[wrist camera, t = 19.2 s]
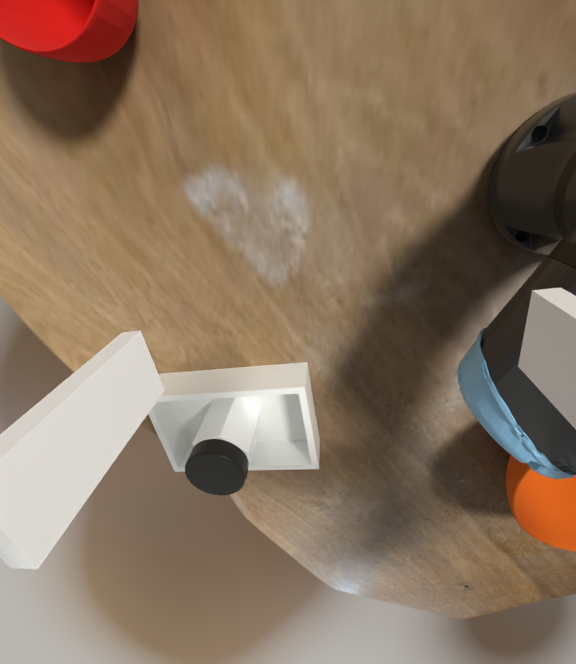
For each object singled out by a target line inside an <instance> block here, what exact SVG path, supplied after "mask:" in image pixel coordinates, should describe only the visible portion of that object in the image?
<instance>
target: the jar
mask: <svg viewBox="0 0 576 664" xmlns="http://www.w3.org/2000/svg"><path fill="white" fill-rule="evenodd" d="M260 416H261V406H259V405H258V404H256V403H254V402H253V401H251V400H249V399H248V398H246V397H234V398H217V399H214V400H213V401H212V403H211V405H210V407H209V409H208V412H207V414H206V416H205V418H204V420H203V422H202V424H201V426H200V428H199V430H198V432H197V434H196V436H195V439H194V441H193V443H192V448H193V449H192V451H191V453H190V456H189V458H188V460H187V462H186V464H185V473H186V476H187V478H188V479H189V481H190V482H191V483H192V484H193V485H194V486H195V487H197V488H198V489H200V490H202V491H204V492H207V493H210V494H214V495H229V494H233V493H235V492H237V491H239V490H240V489H241V488H242V487H243V485H244V482H245V479H246V477H247V474H248V471H249V467H250V463H251V459H252V455H253V451H254V447H255V444H256V440H257V436H258V432H259V428H260Z"/></svg>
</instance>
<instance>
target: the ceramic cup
mask: <svg viewBox="0 0 576 664" xmlns="http://www.w3.org/2000/svg"><path fill="white" fill-rule="evenodd" d="M137 13H138V0H0V38H1V39H3V40H4V41H6V42H8V43H10V44H12V45H13V46H15V47H17V48H19V49H21V50H24V51H26V52H30V53H33V54H37V55H40V56H44V57H48V58H52V59H56V60H61V61H66V62H95V61H99V60H102V59H106V58H108V57H110V56H111V55H113V54H115V53H116V52H118V51H119V50H120V49H121V48H122V47H123V46H124V44H125V43H126V42H127V40H128V39H129V37H130V35H131V33H132V31H133V28H134V25H135V23H136V19H137Z"/></svg>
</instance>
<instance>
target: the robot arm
mask: <svg viewBox="0 0 576 664" xmlns="http://www.w3.org/2000/svg"><path fill="white" fill-rule="evenodd" d="M488 207H489V213H490V216H491V219H492V221H493V224H494V226H495V227H496V229H497V230H498V232H499V233H500V234H501V235H502V236H503V237H504V238H505V239H506V240H508V241H509V242H511V243H512V244H514V245H516V246H518V247H521V248H523V249H525V250H527V251H530V252H534V253H538V254H544V255H548V257H546V258H545V259H544V260H543V262H542V263H541V264H540V265H539V266H538V267H537V269H536V270H535V271H534V272H533V273H532V275H531V276H530V277H529V278H528V279H527V281H526V282H525V283H524V284H523V285H522V287H521V288H520V289H519V290H518V291H517V292H516V294H515V295H514V296H513V297H512V298H511V300H510V301H509V302H508V303H507V304H506V306H505V307H504V308H503V309H502V310H501V312H500V313H499V314H498V315H497V316H496V317H495V319H494V320H493V321H492V322H491V323H490V324H489V326H488V327H487V328H484V329H483V330H481V332H480V333H479V334H478V336H477V340H476V341H475V343H474V344H473V346H472V347H471V348H470V350H469V351H468V352H467V354H466V355H465V356H464V358H463V359H462V360H461V362H460V364H459V367H458V372H457V377H458V383H459V385H460V391H461V394H462V396H463V398H464V400H465V402H466V404H467V405H468V407H469V409H470V410H471V412H472V413H473V415H474V416H475V418H476V419H477V420H478V421H479V423H480V424H481V425H482V426H483V428H484V429H485V430H486V431H487V432H488V433H489V435H490V436H491V437H492V438H493V439H494V440H495V441H496V442H497V443H498V444H499V445H500V446H501V447H502V448H503V449H505V450H506V451H507V452H508V453H509V454H510V455H512V456H513V457H514V458H515V459H517V460H518V461H519V462H521V463H527V464H528V465H529V467H530V468H531V469H532V470H533V471H535V472H537V473H538V474H540V475H543V476H545V477H548V478H552V479H563V478H573V477H574V476H576V93H573V94H570V95H568V96H565V97H563V98H560V99H558V100H556V101H554V102H552V103H551V104H549V105H547V106H546V107H544V108H543V109H541V110H540V111H538V112H537V113H536V114H534V115H533V116H532V117H531V118H530V119H528V120H527V121H526V122H525V123H524V124H523V125H522V126H521V127H520V128H519V129H518V130H517V131H516V132H515V134H514V135H513V136H512V137H511V139H510V140H509V141H508V143H507V144H506V146H505V147H504V149H503V150H502V152H501V154H500V156H499V157H498V159H497V162H496V164H495V166H494V169H493V172H492V175H491V178H490V183H489V188H488ZM164 391H165V389H164V387H163V384H162V382H161V380H160V377H159V375H158V372H157V370H156V367H155V365H154V363H153V360H152V358H151V355H150V353H149V350H148V348H147V346H146V343H145V341H144V338H143V336H142V333H141V331H133V332H123V333H121V334H120V335H119V336H117V337H116V338H115V339H114V340H113V341H111V342H110V343H109V344H108V345H107V346H105V347H104V348H103V349H102V350H101V351H99V352H98V353H97V354H96V355H95V356H93V357H92V358H91V359H90V360H89V361H88V362H86V363H85V364H84V365H83V366H82V367H80V368H79V369H78V370H77V371H76V372H74V373H73V374H72V375H71V376H70V377H68V378H67V379H66V380H65V381H64V382H62V383H61V384H60V385H59V386H58V387H57V388H55V389H54V390H53V391H52V392H51V393H49V394H48V395H47V396H46V397H45V398H44V399H42V400H41V401H40V402H39V403H37V404H36V405H35V406H34V407H33V408H31V409H30V410H29V411H28V412H27V413H25V414H24V415H23V416H22V417H21V418H20V419H18V420H17V421H16V422H15V423H14V424H12V425H11V426H10V427H9V428H8V429H6V430H5V431H4V432H3V433H2V434H0V558H1V559H2V560H3V561H4V562H5V563H6V564H7V565H8V567H9V568H22V569H38V568H39V566H40V565H41V564H42V562H43V561H44V559H45V558H46V556H47V555H48V554H49V552H50V551H51V549H52V548H53V547H54V545H55V544H56V543H57V541H58V539H59V538H60V537H61V536H62V534H63V533H64V531H65V530H66V528H67V527H68V526H69V524H70V523H71V521H72V520H73V519H74V517H75V516H76V514H77V513H78V512H79V510H80V509H81V507H82V506H83V504H84V503H85V502H86V500H87V499H88V498H89V496H90V495H91V493H92V492H93V490H94V489H95V488H96V486H97V485H98V483H99V482H100V481H101V479H102V478H103V476H104V475H105V474H106V472H107V471H108V469H109V468H110V466H111V465H112V464H113V462H114V461H115V460H116V458H117V457H118V455H119V454H120V452H121V451H122V450H123V448H124V447H125V445H126V444H127V442H128V441H129V440H130V438H131V437H132V435H133V434H134V433H135V431H136V430H137V429H138V427H139V426H140V424H141V423H142V422H143V420H144V419H145V417H146V416H147V414H148V413H149V412H150V410H151V409H152V407H153V406H154V405H155V403H156V402H157V400H158V399H159V398H160V396H161V395H162V393H163V392H164Z"/></svg>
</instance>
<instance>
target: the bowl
mask: <svg viewBox="0 0 576 664" xmlns="http://www.w3.org/2000/svg"><path fill="white" fill-rule="evenodd" d="M506 491H507V498H508V502H509V506H510V508H511V511H512V514H513V516H514V517H515V519H516V521H517V522H518V524H519V525H520V526H521V527H522V528H523V529H524V530H525V531H526V532H527V533H528V534H530V535H531V536H532V537H534V538H536V539H537V540H539V541H541V542H543V543H546V544H548V545H551V546H554V547H558V548H561V549H565V550H570V551H576V476H574V477H573V478H563V479H552V478H548V477H545V476H543V475H540V474H538V473H537V472H535V471H533V470H532V469H531V468H530V467H529V465H528V464H527V463H521V462H519V461H518V460H517V459H515V458H514V457H513V456H512V455H510V458H509V462H508V466H507V472H506Z"/></svg>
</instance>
